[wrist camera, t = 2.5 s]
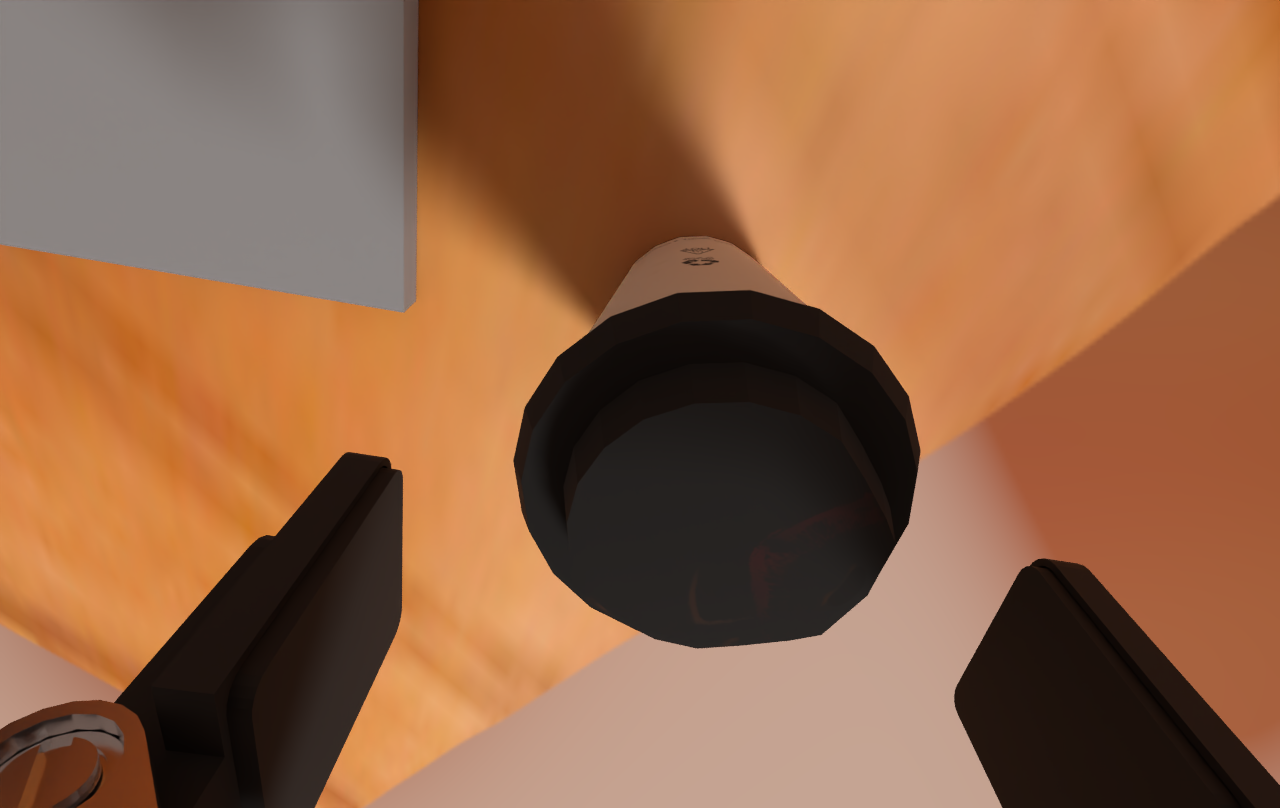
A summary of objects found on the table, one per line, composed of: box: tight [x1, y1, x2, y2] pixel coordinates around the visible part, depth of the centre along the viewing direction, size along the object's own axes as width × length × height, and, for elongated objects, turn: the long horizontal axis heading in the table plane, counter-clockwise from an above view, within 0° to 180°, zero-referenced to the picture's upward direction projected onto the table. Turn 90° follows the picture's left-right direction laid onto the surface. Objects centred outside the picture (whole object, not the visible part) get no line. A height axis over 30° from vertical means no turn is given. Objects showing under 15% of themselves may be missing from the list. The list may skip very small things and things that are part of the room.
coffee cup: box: [514, 236, 920, 648], centre depth 14 cm, size 7×7×10 cm
